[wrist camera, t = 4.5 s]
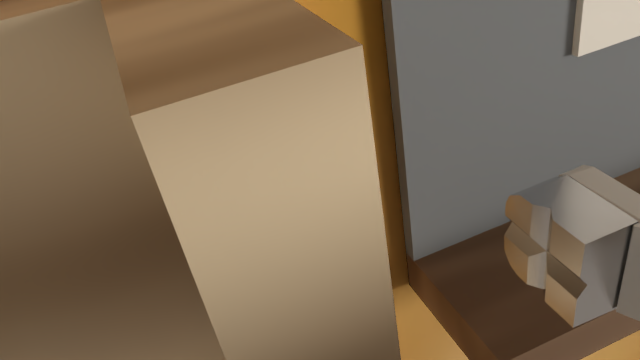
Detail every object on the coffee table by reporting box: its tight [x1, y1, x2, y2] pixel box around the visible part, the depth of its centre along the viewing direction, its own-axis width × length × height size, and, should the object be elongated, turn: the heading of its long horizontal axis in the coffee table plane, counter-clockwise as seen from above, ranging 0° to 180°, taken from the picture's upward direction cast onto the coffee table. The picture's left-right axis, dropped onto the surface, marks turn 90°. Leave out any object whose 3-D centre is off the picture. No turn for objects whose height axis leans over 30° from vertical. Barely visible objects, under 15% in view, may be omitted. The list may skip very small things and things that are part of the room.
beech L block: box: [0, 0, 401, 360], centre depth 9 cm, size 10×6×6 cm, turn 9°
